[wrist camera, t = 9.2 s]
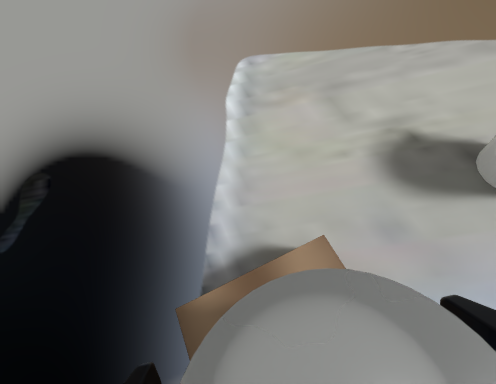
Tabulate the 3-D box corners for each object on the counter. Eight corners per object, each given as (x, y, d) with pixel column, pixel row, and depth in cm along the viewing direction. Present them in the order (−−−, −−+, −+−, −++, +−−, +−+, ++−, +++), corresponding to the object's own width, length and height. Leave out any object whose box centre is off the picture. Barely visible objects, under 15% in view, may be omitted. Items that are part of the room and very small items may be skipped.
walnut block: (253, 503, 14) (247, 560, 11) (193, 312, 20) (175, 309, 16) (410, 404, 16) (449, 427, 12) (315, 250, 21) (323, 234, 17)
